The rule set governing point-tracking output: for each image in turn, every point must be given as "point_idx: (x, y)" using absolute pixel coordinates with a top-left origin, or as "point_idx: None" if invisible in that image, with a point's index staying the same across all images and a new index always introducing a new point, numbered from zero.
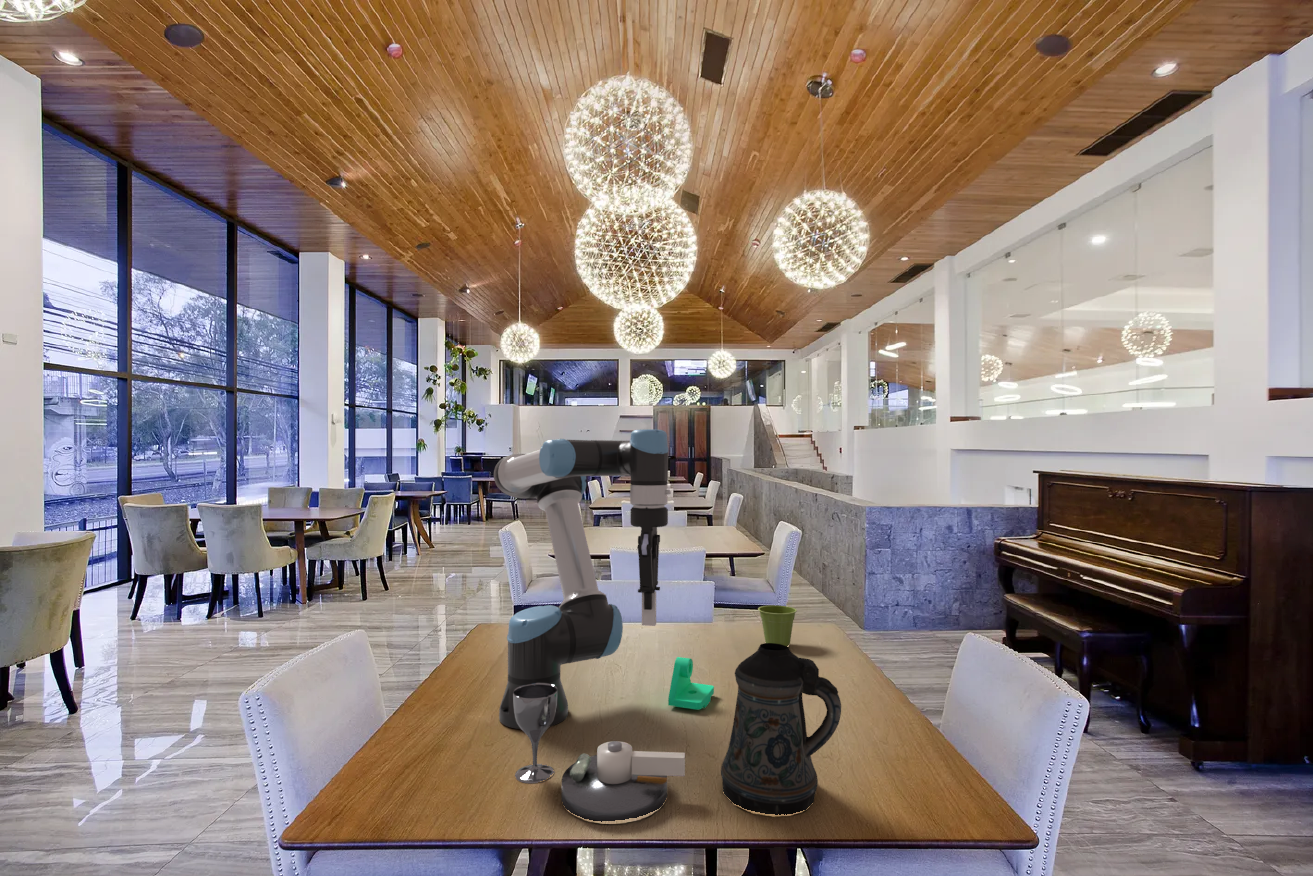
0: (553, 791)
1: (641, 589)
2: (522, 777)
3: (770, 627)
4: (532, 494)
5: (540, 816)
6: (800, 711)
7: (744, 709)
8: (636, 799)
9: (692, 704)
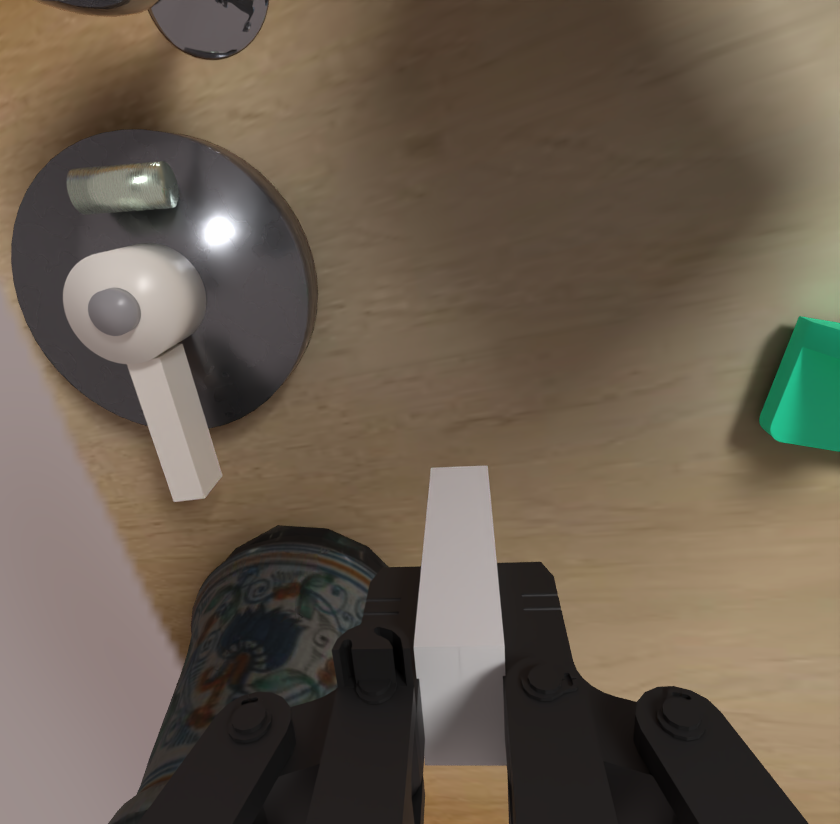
0: (134, 101)
1: (220, 729)
2: None
3: None
4: None
5: (11, 118)
6: None
7: (165, 739)
8: (79, 377)
9: (771, 410)
